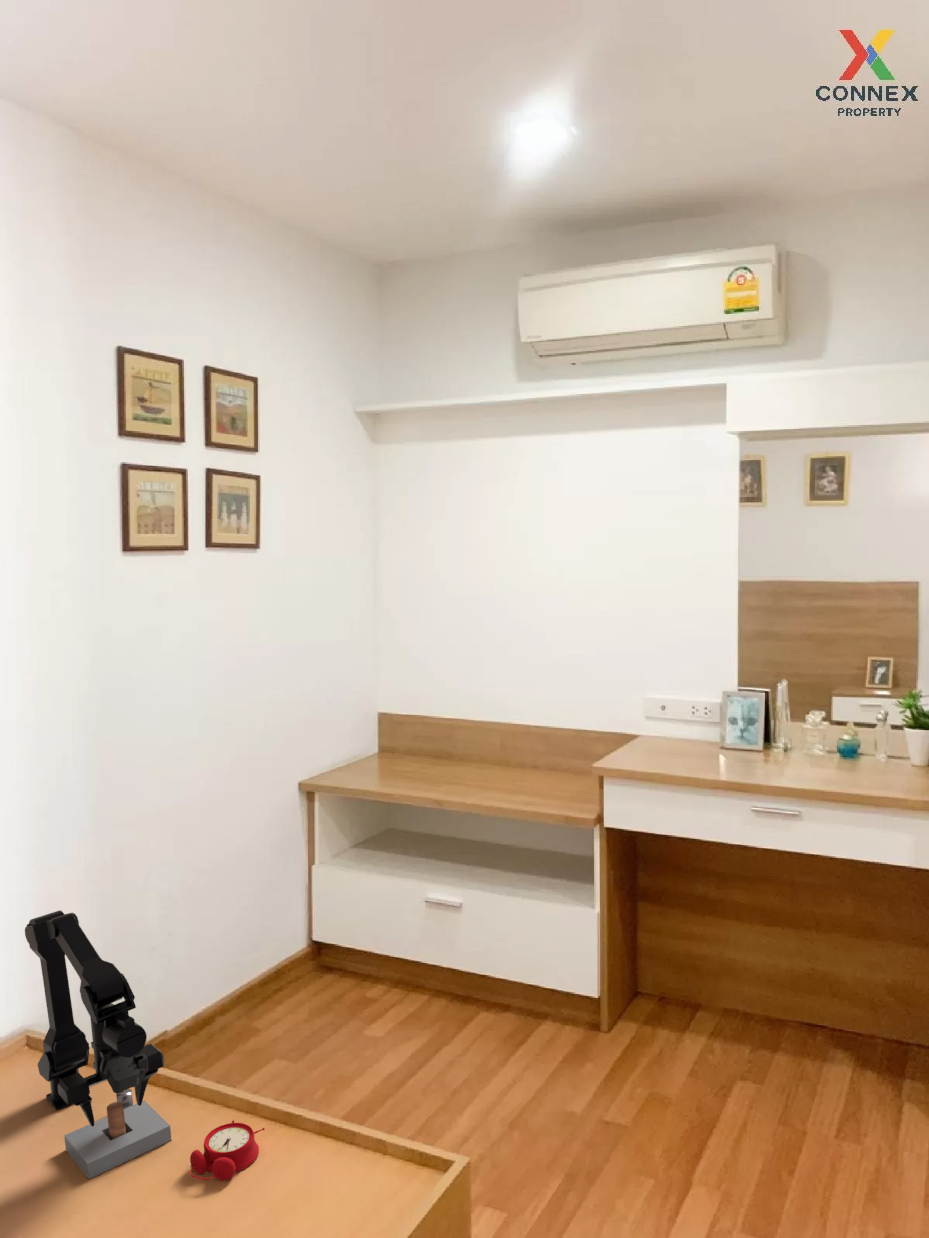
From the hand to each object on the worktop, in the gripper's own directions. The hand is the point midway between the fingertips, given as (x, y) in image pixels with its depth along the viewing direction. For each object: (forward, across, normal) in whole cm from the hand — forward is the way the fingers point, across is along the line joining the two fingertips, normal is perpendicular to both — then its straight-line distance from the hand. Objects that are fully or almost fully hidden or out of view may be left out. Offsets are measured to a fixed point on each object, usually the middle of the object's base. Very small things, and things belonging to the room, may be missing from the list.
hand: (116, 1114), depth 193 cm
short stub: (+6, +6, +10) cm, 13 cm away
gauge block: (+6, 0, 0) cm, 6 cm away
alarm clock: (+7, +12, -20) cm, 24 cm away
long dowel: (+6, 0, 0) cm, 6 cm away
